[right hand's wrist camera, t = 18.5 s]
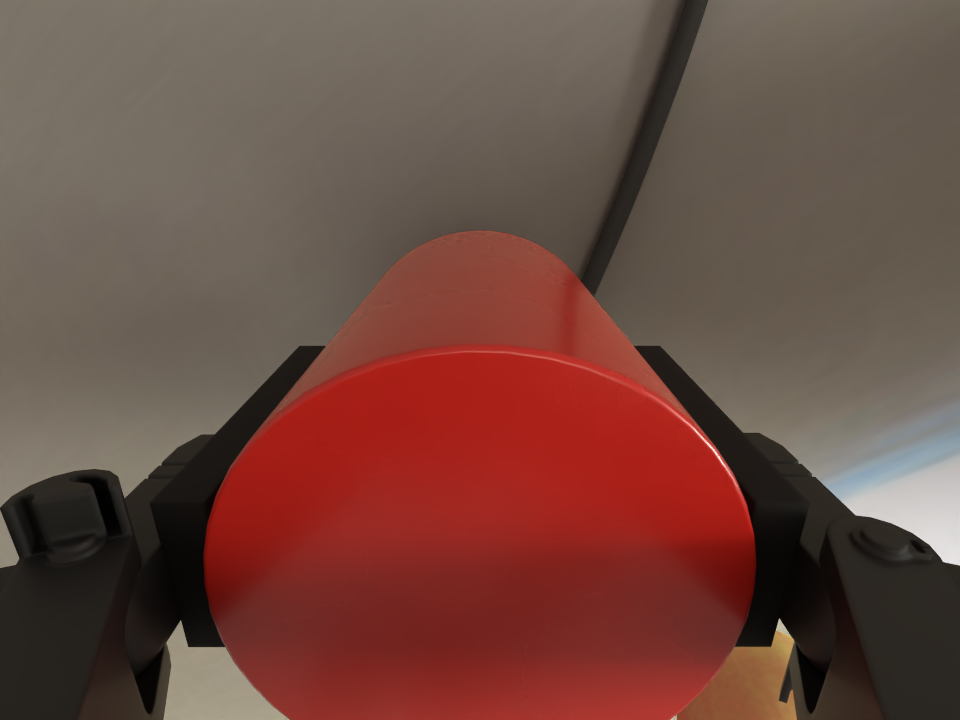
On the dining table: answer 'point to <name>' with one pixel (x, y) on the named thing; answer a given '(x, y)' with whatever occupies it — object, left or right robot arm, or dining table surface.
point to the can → (479, 512)
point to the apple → (747, 686)
